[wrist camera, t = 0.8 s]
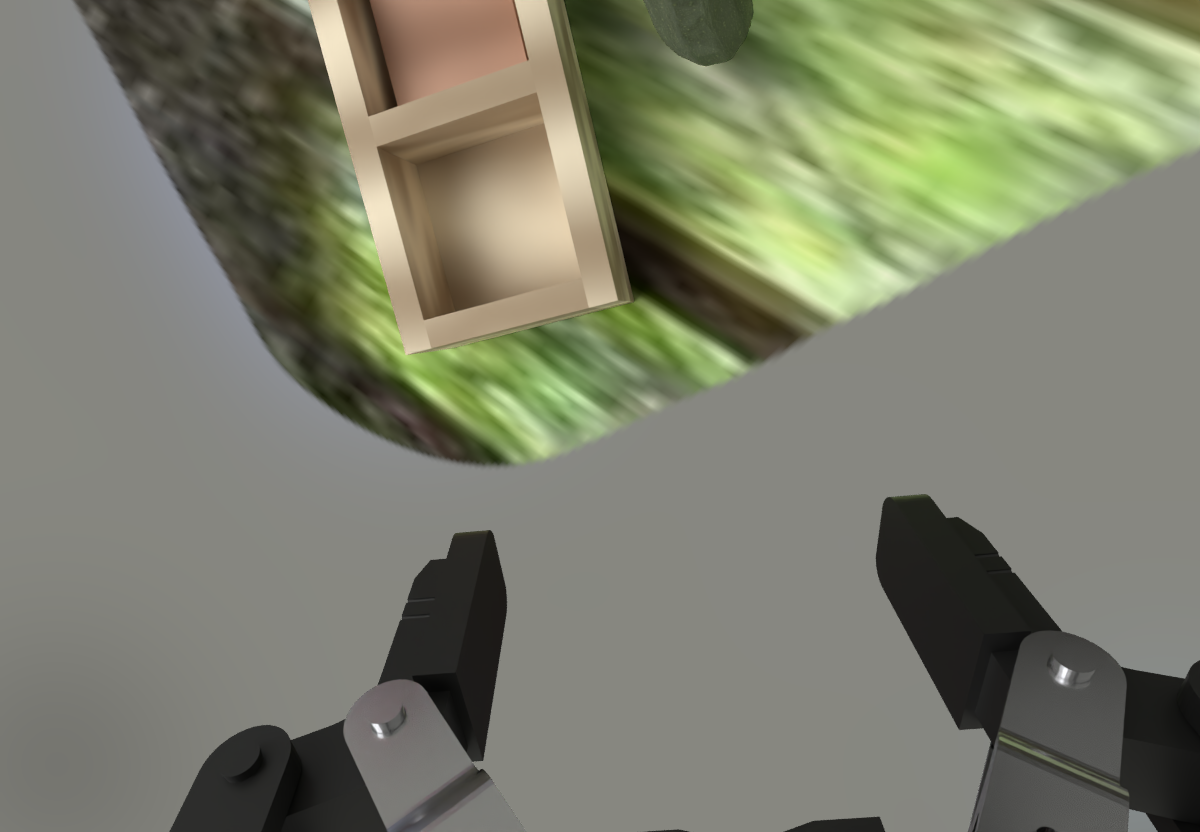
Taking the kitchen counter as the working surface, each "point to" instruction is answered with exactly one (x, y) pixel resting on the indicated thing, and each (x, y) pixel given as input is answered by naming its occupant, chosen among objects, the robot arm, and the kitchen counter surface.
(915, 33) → the kitchen counter surface
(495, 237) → the wooden tray
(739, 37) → the vegetable
